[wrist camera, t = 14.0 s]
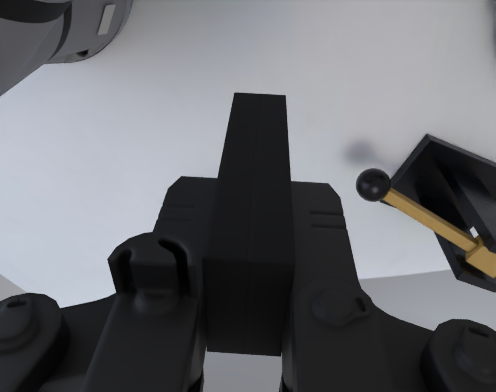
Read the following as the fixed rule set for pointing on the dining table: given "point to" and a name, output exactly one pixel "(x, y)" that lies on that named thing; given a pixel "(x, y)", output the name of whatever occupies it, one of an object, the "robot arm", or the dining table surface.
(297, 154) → the dining table surface
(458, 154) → the lever stand
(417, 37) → the dining table surface
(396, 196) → the tap lever
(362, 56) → the dining table surface
